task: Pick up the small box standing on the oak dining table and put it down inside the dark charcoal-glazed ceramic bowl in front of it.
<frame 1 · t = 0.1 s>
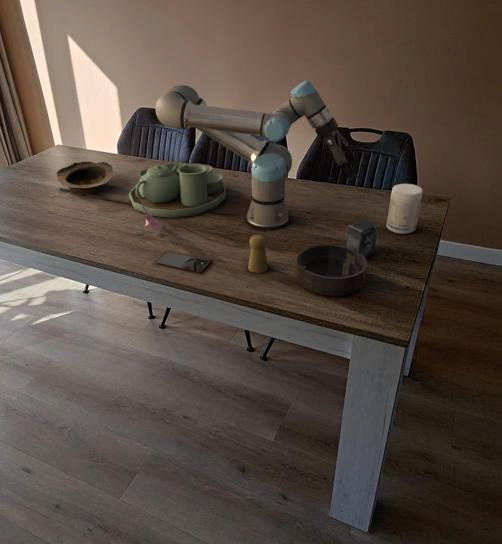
hand: (355, 172, 180), 15 cm above the table, tool tilted 35°, fingers open, 13 cm apart
supplement tub: (400, 228, 174), on the table
cork: (257, 268, 158), on the table
lily: (152, 233, 183), on the table
stone bowl: (88, 189, 223), on the table
box: (359, 254, 161), on the table
smartphone: (183, 262, 163), on the table
bowl: (329, 279, 149), on the table
tea set: (177, 198, 208), on the table
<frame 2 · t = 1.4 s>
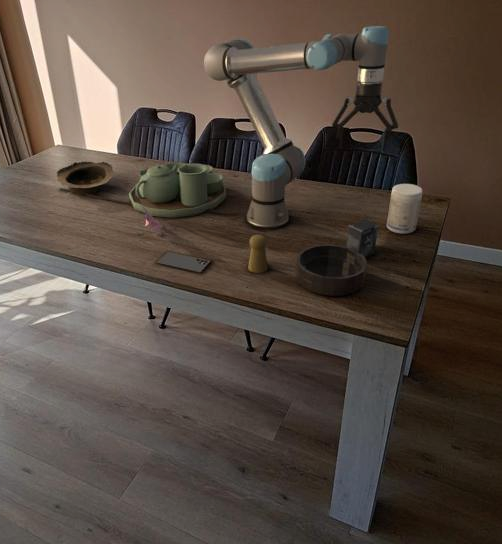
hand: (361, 148, 167), 27 cm above the table, tool pointing down, fingers open, 13 cm apart
nothing on the table moved.
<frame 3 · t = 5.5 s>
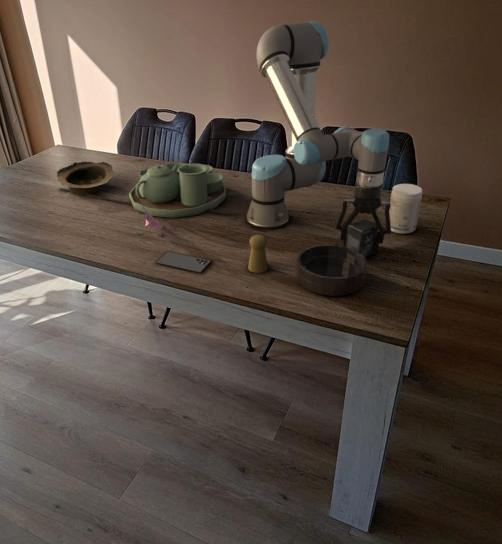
hand: (360, 250, 160), 1 cm above the table, tool pointing down, fingers closed on box, 9 cm apart
box: (359, 254, 161), on the table, touching gripper
everything else where it was.
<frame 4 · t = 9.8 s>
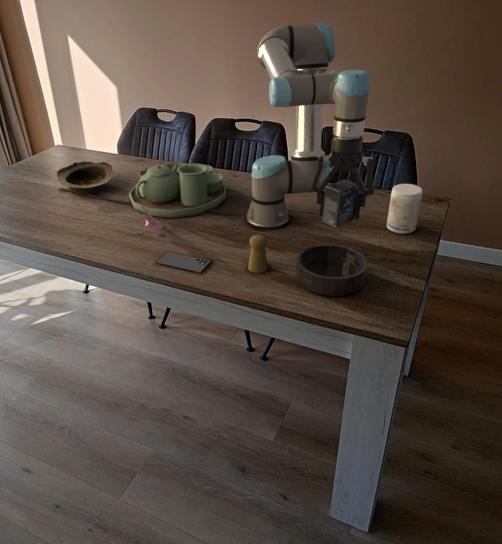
hand: (339, 215, 140), 20 cm above the table, tool pointing down, fingers closed on box, 9 cm apart
box: (338, 221, 141), point 19 cm above the table, touching gripper
everything else where it was.
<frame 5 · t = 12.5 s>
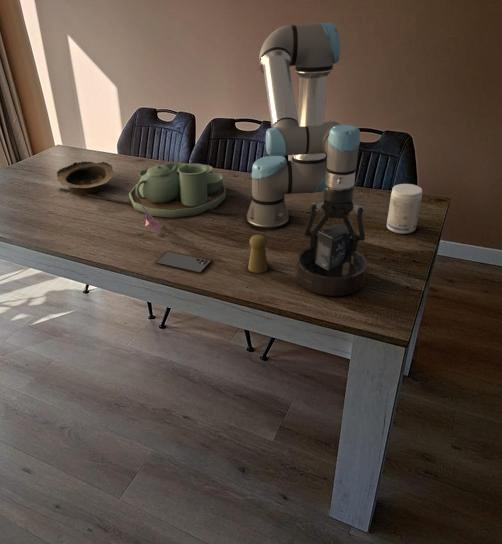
hand: (331, 258, 146), 7 cm above the table, tool pointing down, fingers closed on box, 9 cm apart
box: (331, 263, 146), point 6 cm above the table, touching gripper
everything else where it was.
when the fingers open (2 cm above the table, at t = 14.4 s): box stays where it is, resting on bowl.
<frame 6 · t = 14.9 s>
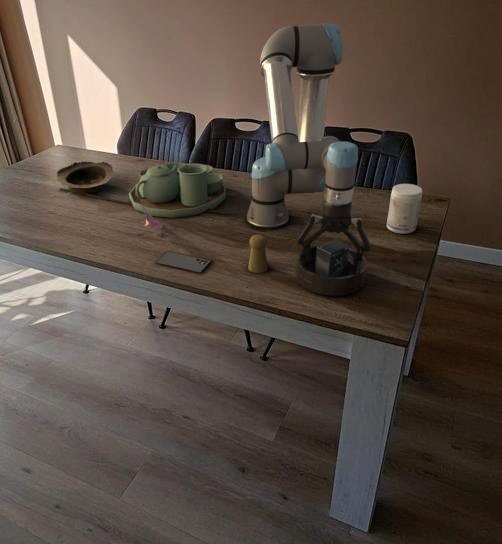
hand: (330, 267, 147), 4 cm above the table, tool pointing down, fingers open, 13 cm apart
box: (329, 277, 149), point 1 cm above the table, touching bowl
everything else where it was.
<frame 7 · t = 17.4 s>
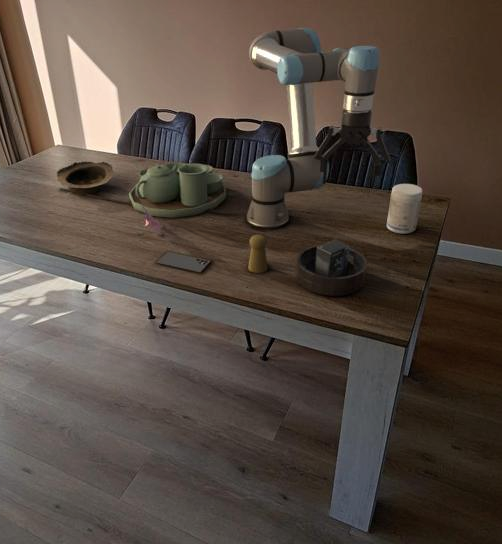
hand: (348, 184, 146), 25 cm above the table, tool pointing down, fingers open, 13 cm apart
nothing on the table moved.
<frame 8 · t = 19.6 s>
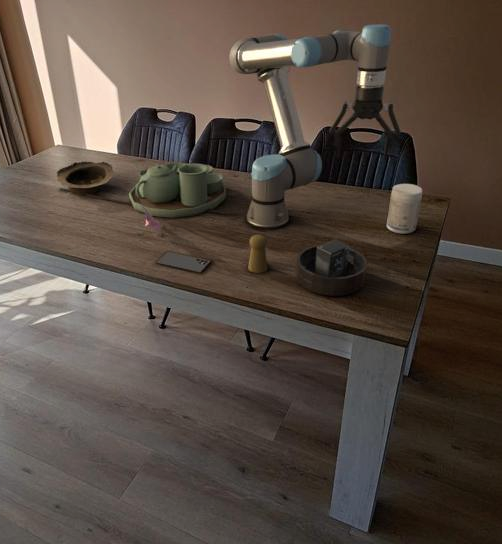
hand: (361, 157, 154), 29 cm above the table, tool pointing down, fingers open, 13 cm apart
nothing on the table moved.
at the end: box inside the target area in the bowl (0.1 cm from its centre), point 0.6 cm above the bowl's base; the gripper is holding nothing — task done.
